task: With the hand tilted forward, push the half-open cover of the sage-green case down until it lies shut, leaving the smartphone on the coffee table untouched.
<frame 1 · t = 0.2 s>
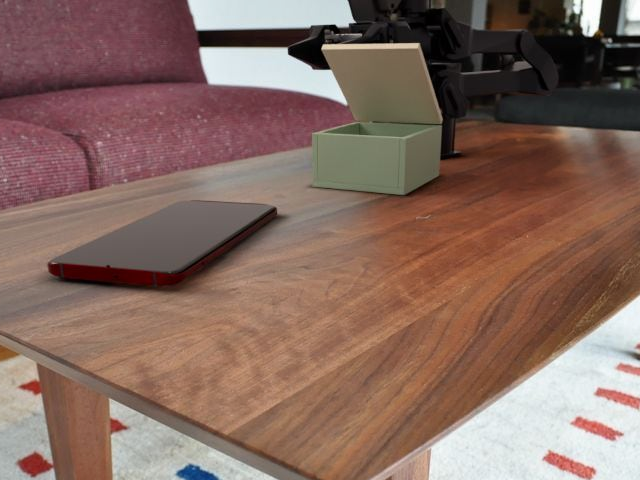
hand: (308, 50, 89), 16 cm above the table, tool horizontal, fingers open, 9 cm apart
cover: (384, 85, 86), point 12 cm above the table, hinge at 42.5°
case: (377, 181, 90), on the table
smartphone: (180, 244, 64), on the table
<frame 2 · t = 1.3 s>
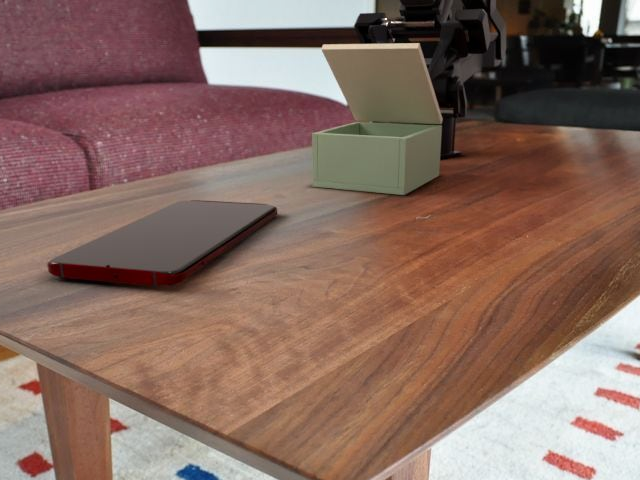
hand: (404, 78, 92), 13 cm above the table, tool tilted 45°, fingers open, 7 cm apart
nothing on the table moved.
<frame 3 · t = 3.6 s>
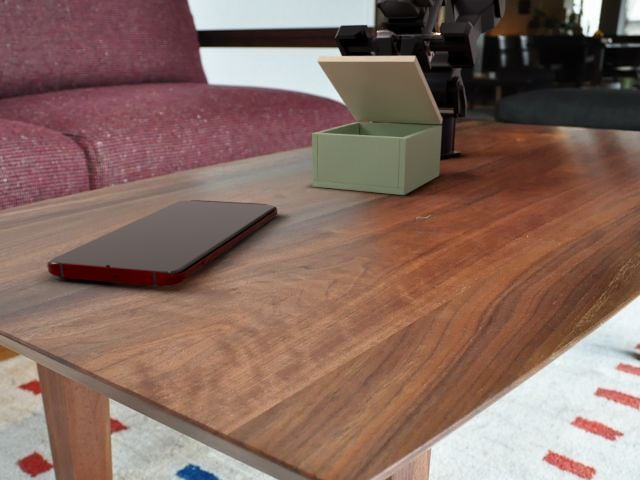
hand: (387, 94, 88), 11 cm above the table, tool tilted 45°, fingers closed, pressing on cover
cover: (382, 91, 86), point 11 cm above the table, hinge at 35.3°, touching gripper
everything else where it was.
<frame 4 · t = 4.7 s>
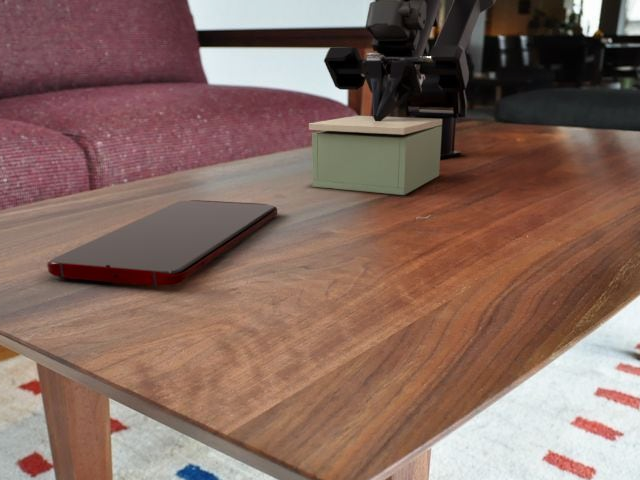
hand: (376, 118, 86), 8 cm above the table, tool tilted 45°, fingers closed
cover: (377, 124, 87), point 7 cm above the table, hinge at 1.8°
everything else where it was.
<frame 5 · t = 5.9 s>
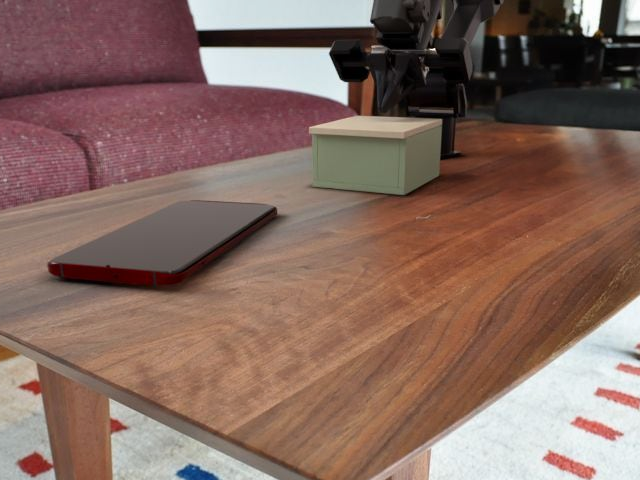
hand: (381, 111, 87), 9 cm above the table, tool tilted 45°, fingers closed
cover: (377, 126, 87), point 7 cm above the table, hinge at 0.0°
everything else where it was.
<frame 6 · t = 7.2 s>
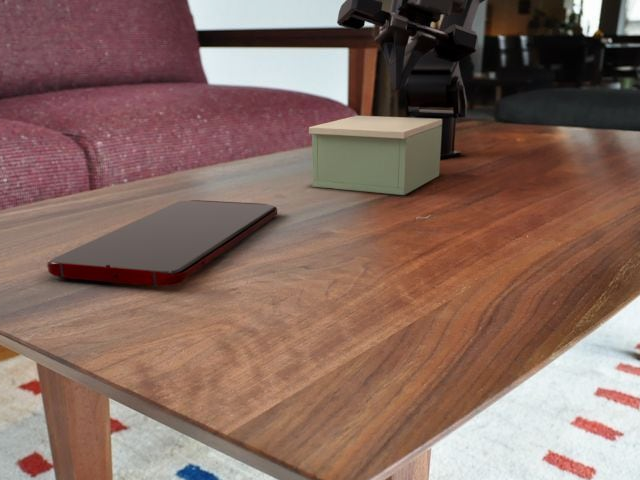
hand: (397, 90, 90), 11 cm above the table, tool tilted 25°, fingers closed
nothing on the table moved.
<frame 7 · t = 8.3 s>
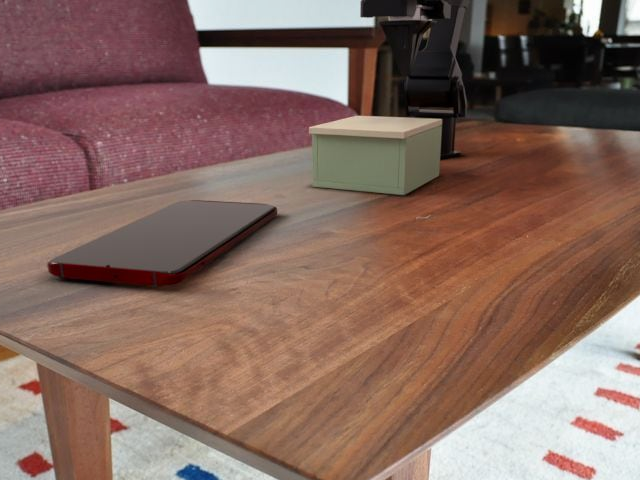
hand: (406, 75, 92), 13 cm above the table, tool pointing down, fingers closed
nothing on the table moved.
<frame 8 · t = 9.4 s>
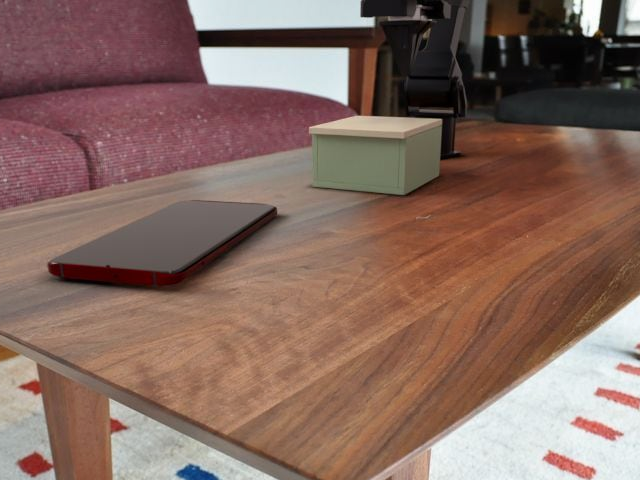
hand: (406, 75, 92), 13 cm above the table, tool pointing down, fingers closed
nothing on the table moved.
at the end: cover at +0° (first picture: +42°); smartphone moved 0.2 cm from its start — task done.
